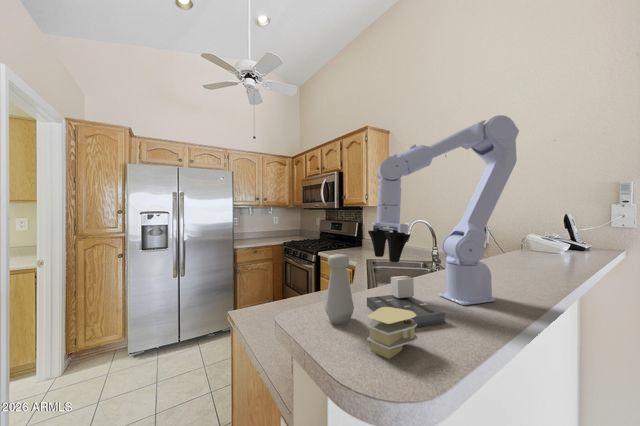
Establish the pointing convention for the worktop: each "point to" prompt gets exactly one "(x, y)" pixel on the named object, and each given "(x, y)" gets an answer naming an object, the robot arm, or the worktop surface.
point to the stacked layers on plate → (391, 330)
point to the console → (422, 310)
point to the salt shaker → (339, 291)
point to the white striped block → (402, 286)
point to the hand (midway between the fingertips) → (386, 259)
